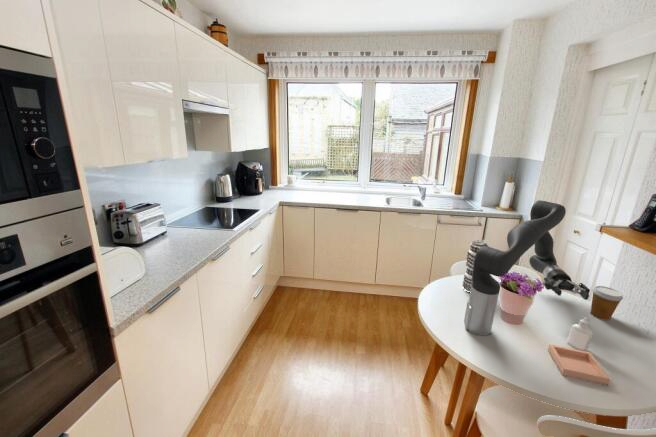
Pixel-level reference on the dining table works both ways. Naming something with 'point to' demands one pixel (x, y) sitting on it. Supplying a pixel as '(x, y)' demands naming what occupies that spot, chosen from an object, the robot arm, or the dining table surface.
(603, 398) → the dining table surface
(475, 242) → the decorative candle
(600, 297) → the disposable coffee cup
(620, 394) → the dining table surface
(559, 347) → the terracotta caddy
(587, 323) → the eye dropper bottle
